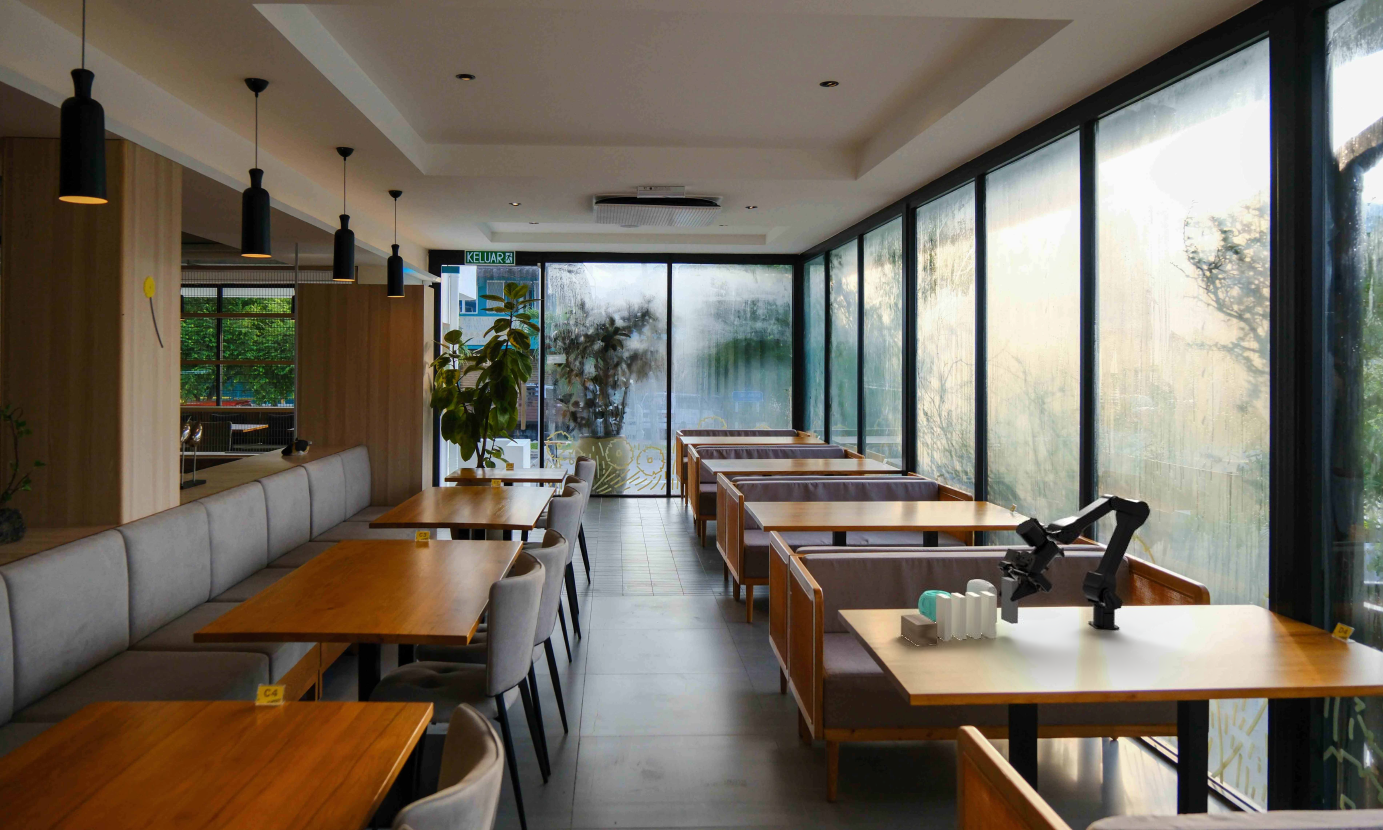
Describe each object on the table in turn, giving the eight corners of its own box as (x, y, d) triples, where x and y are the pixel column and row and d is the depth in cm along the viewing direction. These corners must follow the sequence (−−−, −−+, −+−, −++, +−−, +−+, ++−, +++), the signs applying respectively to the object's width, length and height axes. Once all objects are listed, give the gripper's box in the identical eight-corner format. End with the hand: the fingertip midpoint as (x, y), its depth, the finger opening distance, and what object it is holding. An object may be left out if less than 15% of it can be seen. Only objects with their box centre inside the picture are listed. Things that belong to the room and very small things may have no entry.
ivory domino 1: (942, 635, 237) (942, 593, 237) (951, 640, 232) (951, 597, 232) (936, 635, 237) (936, 593, 237) (944, 641, 232) (944, 598, 232)
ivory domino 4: (986, 632, 240) (986, 591, 240) (995, 637, 235) (995, 595, 235) (979, 633, 240) (980, 591, 239) (989, 638, 235) (989, 595, 234)
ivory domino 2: (957, 634, 238) (957, 592, 238) (966, 639, 233) (966, 596, 233) (950, 634, 238) (950, 593, 238) (959, 640, 233) (959, 597, 233)
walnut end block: (920, 634, 239) (920, 613, 239) (937, 644, 229) (937, 623, 229) (900, 635, 238) (901, 615, 238) (916, 645, 228) (916, 624, 228)
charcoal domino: (1007, 618, 241) (1007, 577, 241) (1017, 623, 236) (1018, 580, 236) (1001, 618, 241) (1001, 577, 240) (1011, 623, 236) (1012, 581, 236)
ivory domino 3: (971, 633, 239) (972, 591, 239) (981, 638, 234) (981, 596, 234) (965, 634, 239) (965, 592, 238) (974, 639, 234) (974, 596, 233)
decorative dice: (956, 620, 253) (956, 594, 253) (938, 624, 249) (938, 597, 248) (935, 614, 260) (935, 588, 259) (917, 618, 255) (917, 592, 255)
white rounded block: (964, 617, 256) (964, 577, 256) (976, 615, 258) (976, 576, 257) (987, 626, 247) (987, 584, 246) (999, 624, 248) (999, 583, 248)
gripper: (1003, 533, 248) (969, 572, 246) (1043, 544, 230) (1007, 586, 227) (1026, 558, 250) (993, 597, 248) (1068, 571, 232) (1032, 613, 229)
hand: (1005, 598), depth 238 cm, fingers closed on charcoal domino, 5 cm apart
